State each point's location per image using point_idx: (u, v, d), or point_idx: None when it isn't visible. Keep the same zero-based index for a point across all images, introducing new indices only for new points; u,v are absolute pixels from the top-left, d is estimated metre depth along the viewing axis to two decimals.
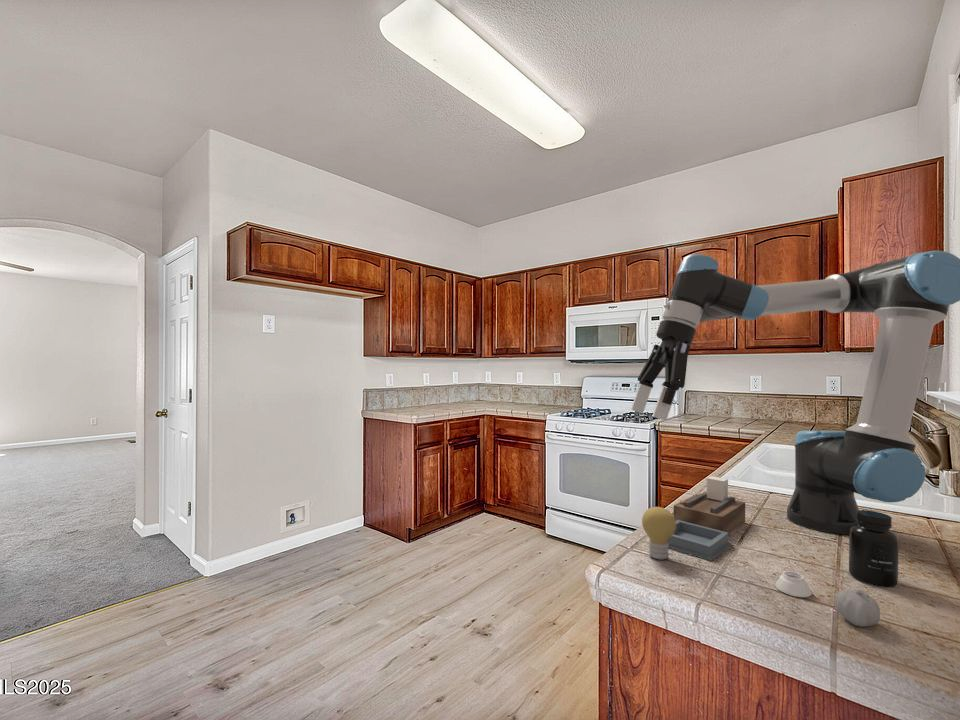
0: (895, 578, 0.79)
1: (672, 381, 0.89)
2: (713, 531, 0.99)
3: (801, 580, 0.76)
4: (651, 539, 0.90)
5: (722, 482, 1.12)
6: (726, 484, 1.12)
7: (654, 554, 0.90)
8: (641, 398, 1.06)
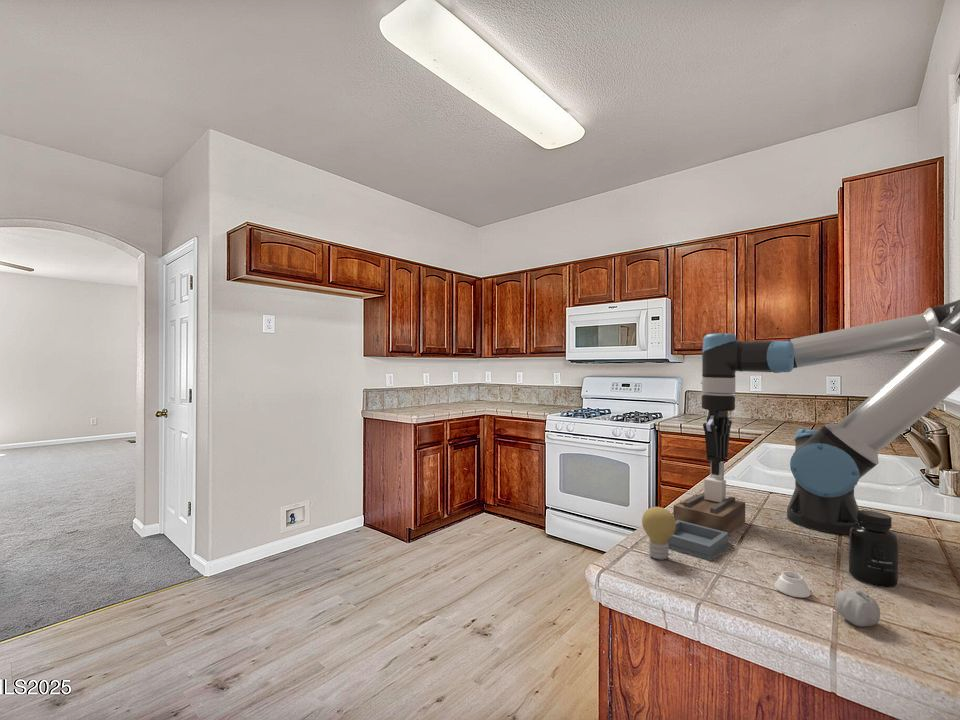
0: (895, 578, 0.79)
1: (707, 458, 1.13)
2: (713, 531, 0.99)
3: (800, 580, 0.76)
4: (651, 539, 0.90)
5: (720, 483, 1.10)
6: (723, 485, 1.11)
7: (654, 554, 0.90)
8: None
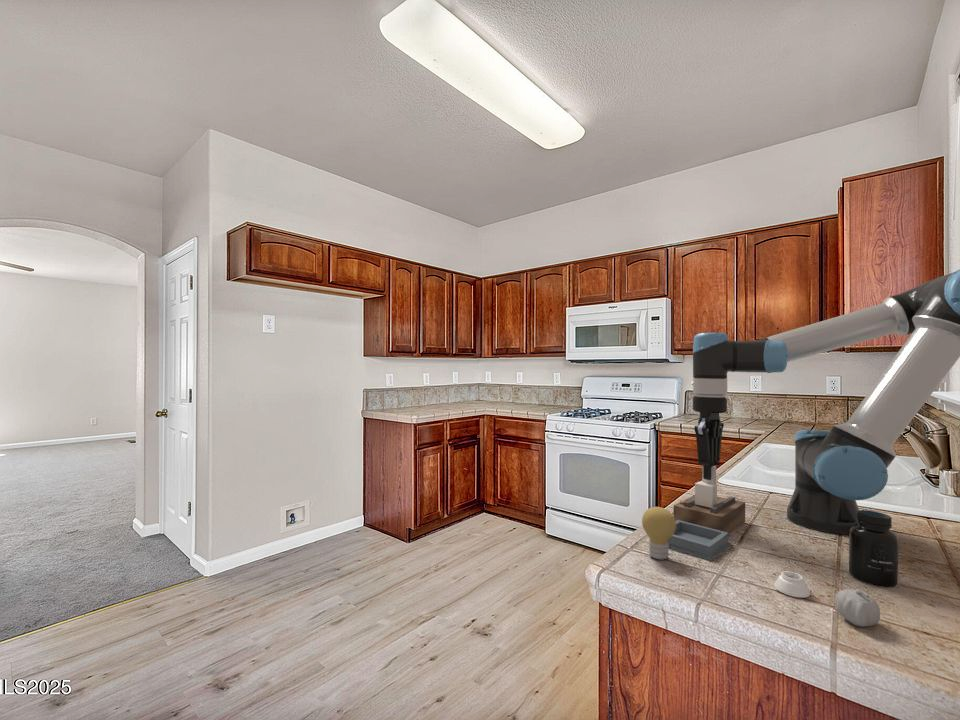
0: (895, 578, 0.79)
1: (698, 462, 1.09)
2: (713, 531, 0.99)
3: (800, 580, 0.76)
4: (651, 539, 0.90)
5: (711, 488, 1.06)
6: (715, 490, 1.07)
7: (654, 554, 0.90)
8: None
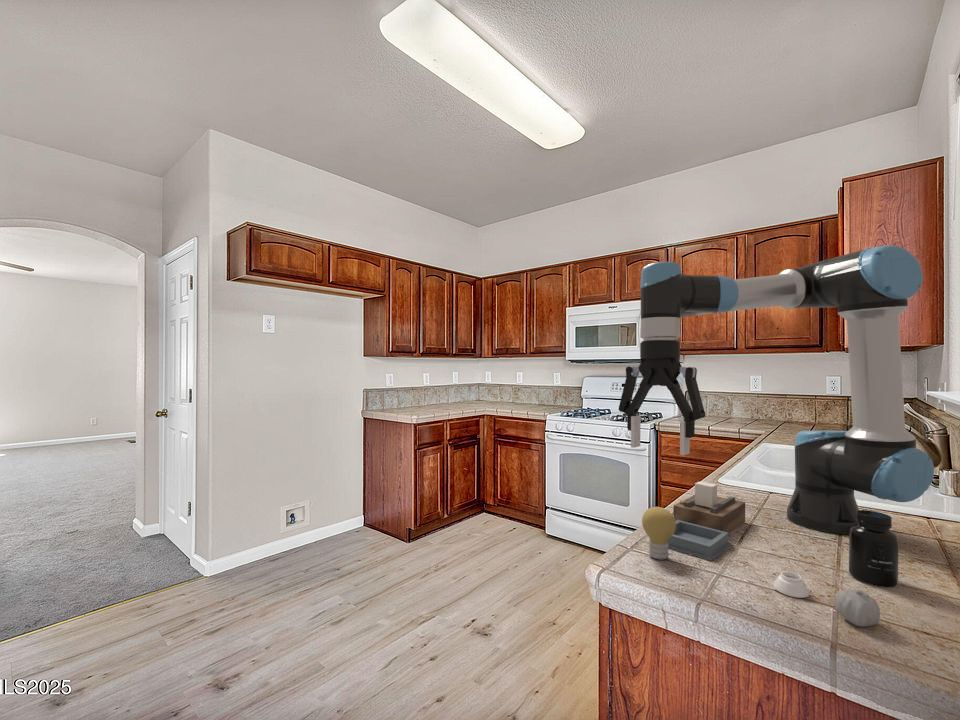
0: (895, 578, 0.79)
1: None
2: (713, 531, 0.99)
3: (799, 580, 0.76)
4: (651, 539, 0.90)
5: (711, 488, 1.06)
6: (715, 490, 1.07)
7: (654, 554, 0.90)
8: None
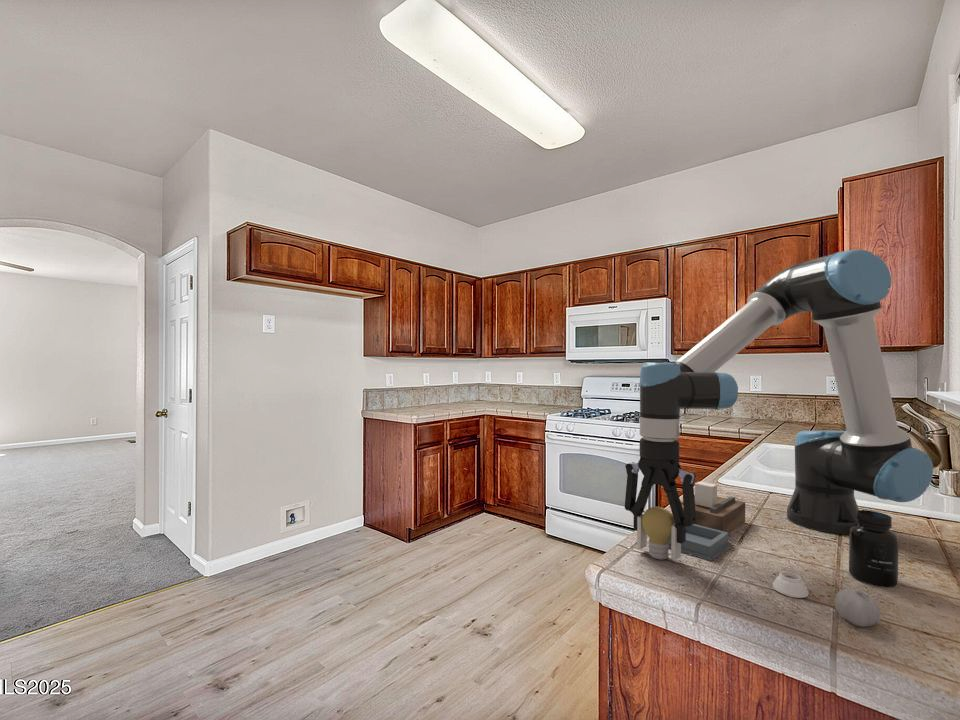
0: (895, 578, 0.79)
1: None
2: (713, 531, 0.99)
3: (798, 581, 0.76)
4: (651, 539, 0.90)
5: (711, 488, 1.06)
6: (715, 490, 1.07)
7: (654, 554, 0.90)
8: None
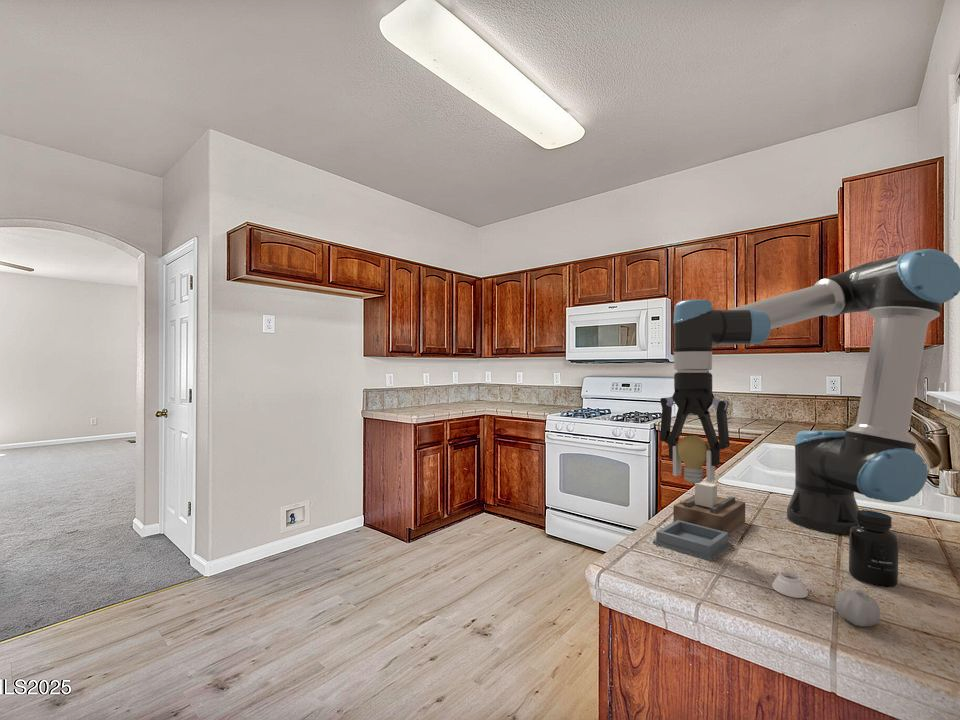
0: (895, 578, 0.79)
1: None
2: (713, 531, 0.99)
3: (797, 581, 0.76)
4: (686, 465, 0.97)
5: (711, 488, 1.06)
6: (715, 490, 1.07)
7: (690, 478, 0.96)
8: None
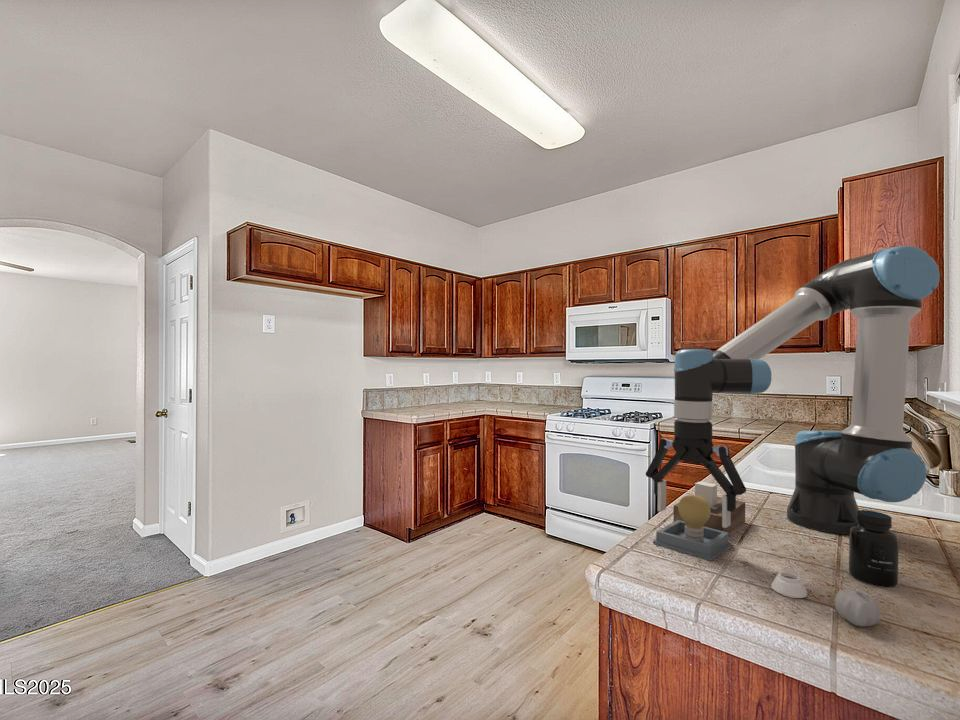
0: (895, 578, 0.79)
1: None
2: (713, 531, 0.99)
3: (797, 581, 0.76)
4: (687, 524, 0.97)
5: (711, 488, 1.06)
6: (715, 490, 1.07)
7: (690, 538, 0.96)
8: None
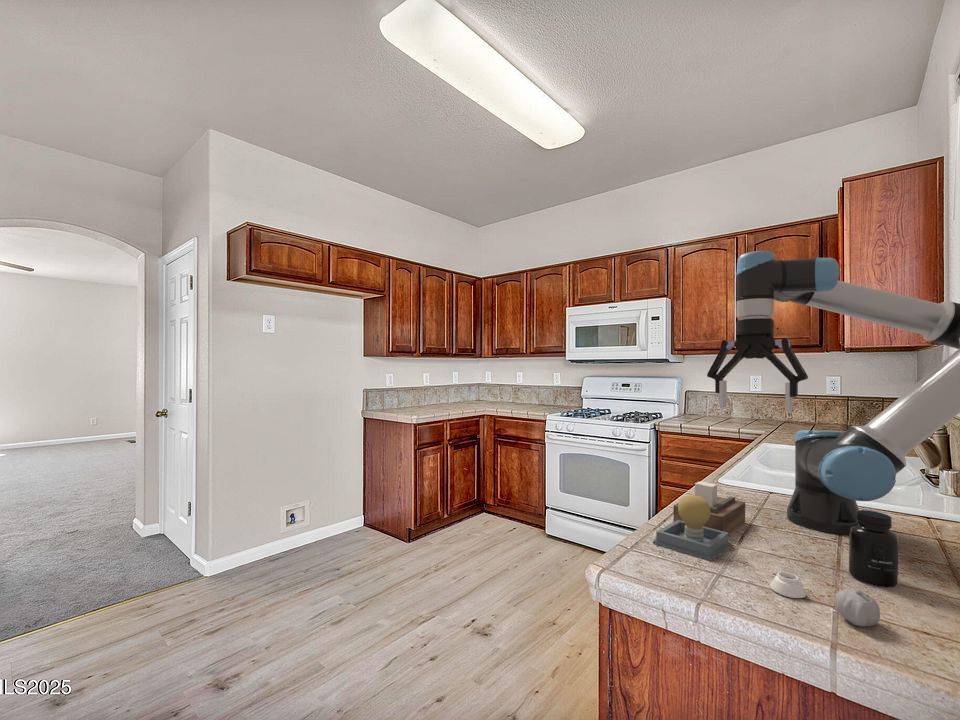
0: (895, 578, 0.79)
1: None
2: (713, 531, 0.99)
3: (796, 581, 0.76)
4: (687, 525, 0.97)
5: (711, 488, 1.06)
6: (715, 490, 1.07)
7: None
8: None
